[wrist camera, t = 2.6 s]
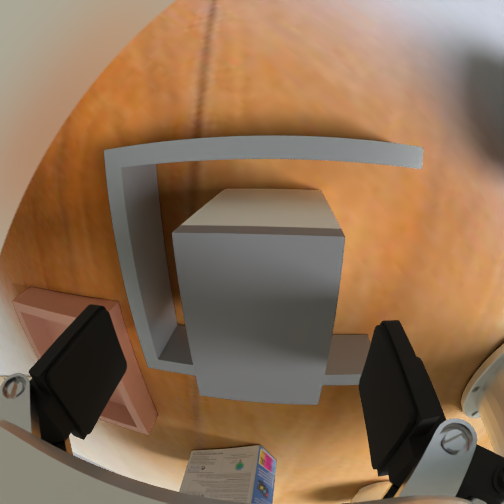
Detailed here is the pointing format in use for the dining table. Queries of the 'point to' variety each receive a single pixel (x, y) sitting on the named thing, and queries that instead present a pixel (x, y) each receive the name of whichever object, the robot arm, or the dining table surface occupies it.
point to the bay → (152, 240)
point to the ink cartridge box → (231, 474)
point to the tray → (55, 323)
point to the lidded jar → (371, 492)
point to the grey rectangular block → (260, 293)
